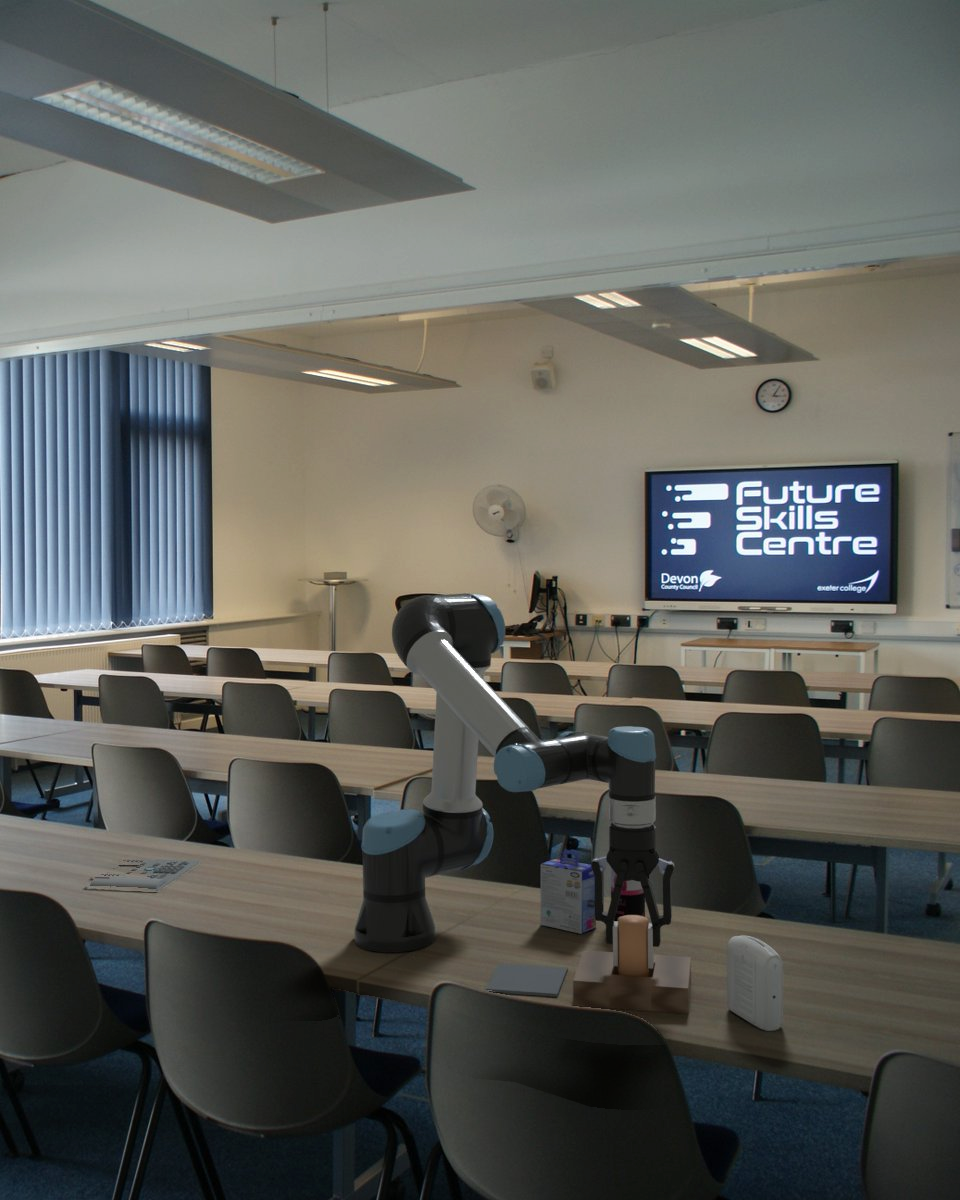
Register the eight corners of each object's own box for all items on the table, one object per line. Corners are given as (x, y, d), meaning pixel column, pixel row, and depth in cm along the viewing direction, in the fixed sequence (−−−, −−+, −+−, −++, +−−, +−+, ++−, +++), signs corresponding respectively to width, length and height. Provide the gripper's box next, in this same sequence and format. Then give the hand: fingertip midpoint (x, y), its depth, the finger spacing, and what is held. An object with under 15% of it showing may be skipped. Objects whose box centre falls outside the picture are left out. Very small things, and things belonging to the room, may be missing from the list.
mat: (485, 991, 186) (485, 988, 186) (499, 965, 198) (499, 963, 198) (557, 996, 183) (557, 993, 183) (567, 970, 195) (567, 967, 195)
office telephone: (159, 884, 244) (72, 881, 247) (159, 896, 244) (72, 893, 247) (201, 854, 267) (121, 852, 270) (201, 865, 267) (122, 863, 270)
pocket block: (573, 1005, 180) (573, 980, 180) (584, 973, 193) (584, 950, 193) (688, 1013, 176) (688, 988, 176) (691, 980, 190) (691, 957, 189)
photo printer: (787, 1028, 170) (787, 947, 170) (764, 1033, 168) (764, 951, 168) (745, 1004, 179) (744, 927, 179) (722, 1009, 178) (722, 931, 177)
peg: (616, 997, 183) (616, 923, 182) (619, 985, 188) (619, 914, 187) (648, 999, 182) (647, 925, 181) (650, 987, 187) (649, 915, 186)
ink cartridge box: (598, 927, 217) (597, 853, 217) (582, 935, 213) (582, 859, 212) (555, 918, 223) (554, 845, 223) (539, 925, 219) (538, 851, 218)
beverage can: (622, 928, 216) (621, 851, 216) (605, 919, 222) (604, 843, 222) (651, 924, 219) (650, 847, 218) (633, 914, 225) (633, 839, 224)
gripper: (574, 826, 182) (575, 969, 183) (687, 830, 178) (688, 976, 179) (580, 815, 189) (581, 953, 190) (689, 819, 185) (690, 959, 186)
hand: (633, 964), depth 185 cm, fingers closed on peg, 5 cm apart
